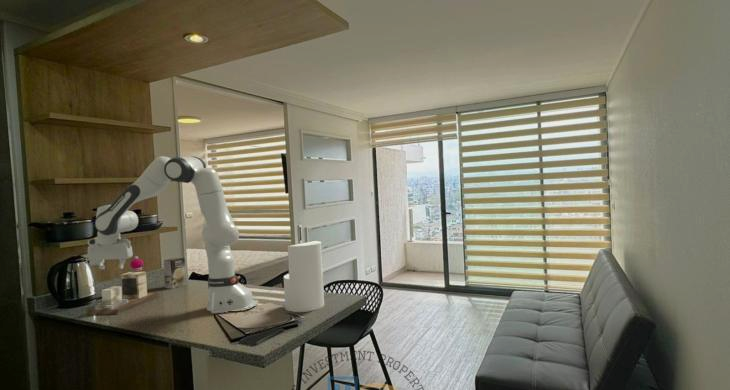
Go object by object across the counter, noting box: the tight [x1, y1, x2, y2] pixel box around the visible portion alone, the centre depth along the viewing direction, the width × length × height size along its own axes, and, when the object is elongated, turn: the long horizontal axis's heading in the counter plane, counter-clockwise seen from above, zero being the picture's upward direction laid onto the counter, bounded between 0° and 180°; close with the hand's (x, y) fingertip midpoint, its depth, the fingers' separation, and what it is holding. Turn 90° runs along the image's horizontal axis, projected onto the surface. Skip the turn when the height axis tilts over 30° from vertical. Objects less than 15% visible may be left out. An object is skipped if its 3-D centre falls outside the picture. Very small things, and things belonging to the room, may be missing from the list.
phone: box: [239, 327, 285, 347], centre depth 135 cm, size 8×1×15 cm
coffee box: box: [163, 257, 186, 290], centre depth 220 cm, size 9×6×16 cm
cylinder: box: [283, 240, 325, 313], centre depth 170 cm, size 17×17×28 cm
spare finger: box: [101, 285, 122, 305], centre depth 178 cm, size 7×4×8 cm, turn 174°
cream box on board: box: [86, 271, 159, 315], centre depth 185 cm, size 15×28×14 cm, turn 174°
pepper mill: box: [129, 255, 144, 272], centre depth 210 cm, size 7×7×20 cm
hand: (111, 268), depth 178 cm, fingers open, 8 cm apart
